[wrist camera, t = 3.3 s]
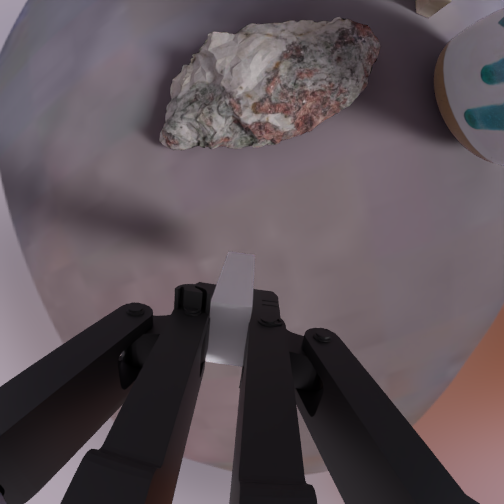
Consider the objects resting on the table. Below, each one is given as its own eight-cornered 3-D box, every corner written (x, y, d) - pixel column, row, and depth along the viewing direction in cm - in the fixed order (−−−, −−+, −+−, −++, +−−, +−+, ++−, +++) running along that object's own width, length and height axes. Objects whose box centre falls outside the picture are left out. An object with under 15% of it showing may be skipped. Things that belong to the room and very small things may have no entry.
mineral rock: (173, 165, 20) (152, 166, 16) (157, 64, 18) (135, 44, 14) (377, 136, 19) (404, 131, 15) (356, 37, 17) (376, 14, 13)
